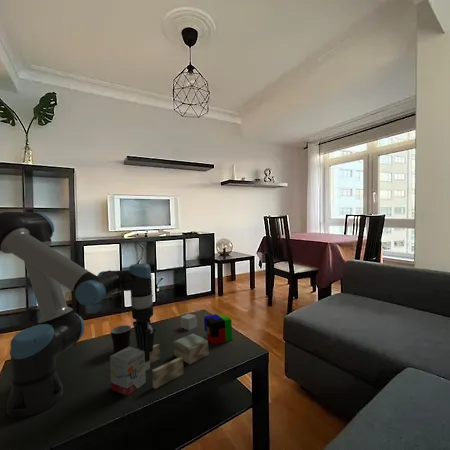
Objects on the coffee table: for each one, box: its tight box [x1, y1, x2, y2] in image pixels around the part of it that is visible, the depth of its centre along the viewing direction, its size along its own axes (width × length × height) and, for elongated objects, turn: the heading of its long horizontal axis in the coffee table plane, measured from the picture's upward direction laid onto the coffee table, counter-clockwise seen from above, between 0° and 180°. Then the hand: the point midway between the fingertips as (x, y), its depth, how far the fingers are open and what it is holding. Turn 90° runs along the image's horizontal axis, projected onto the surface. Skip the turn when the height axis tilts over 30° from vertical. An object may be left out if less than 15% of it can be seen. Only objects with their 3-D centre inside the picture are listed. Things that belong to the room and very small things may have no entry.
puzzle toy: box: [203, 312, 233, 346], centre depth 129 cm, size 10×10×10 cm
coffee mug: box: [110, 324, 132, 354], centre depth 122 cm, size 12×9×10 cm
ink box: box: [109, 345, 147, 397], centre depth 94 cm, size 9×9×12 cm
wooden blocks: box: [149, 333, 209, 390], centre depth 108 cm, size 28×18×6 cm, turn 134°
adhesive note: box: [180, 313, 198, 331], centre depth 144 cm, size 6×6×6 cm
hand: (146, 368), depth 99 cm, fingers closed
